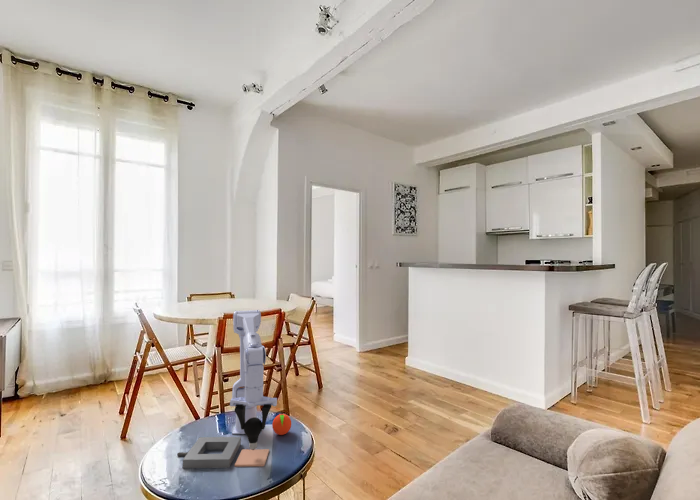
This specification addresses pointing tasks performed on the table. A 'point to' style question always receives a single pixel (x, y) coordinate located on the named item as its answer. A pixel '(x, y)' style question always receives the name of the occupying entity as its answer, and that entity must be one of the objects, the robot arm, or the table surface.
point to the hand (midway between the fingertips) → (253, 428)
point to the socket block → (201, 460)
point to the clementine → (281, 424)
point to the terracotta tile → (252, 457)
